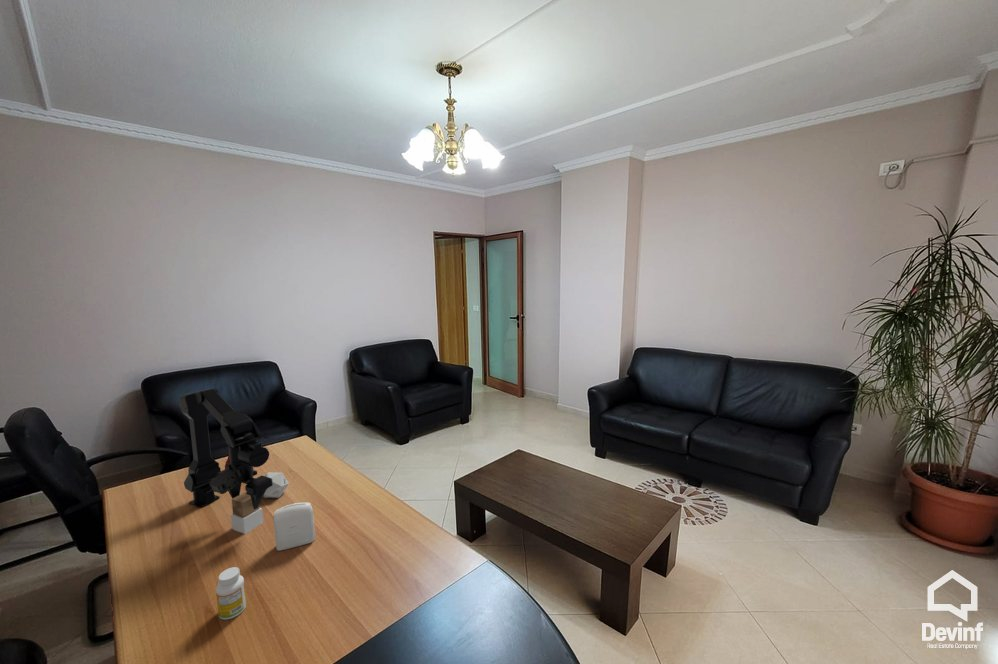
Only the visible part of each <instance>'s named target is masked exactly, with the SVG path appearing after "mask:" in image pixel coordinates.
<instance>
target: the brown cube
mask: <svg viewBox="0 0 998 664" xmlns="http://www.w3.org/2000/svg"><path fill="white" fill-rule="evenodd" d="M246 493H247V491H246V490H245V491H244V492H242V493H240V495H239V496H237V497H235V498H233V499H232V498H231V506H232V514H234V515H237V516H239V517H242V518H245V517H246V516H248V515H250V514H252V513H253V512H255V511H257V510H259V507H260V505H259V506H258V508H257V509H254V508H253V505H252V500H251V496H250V495H248V494H246Z"/></svg>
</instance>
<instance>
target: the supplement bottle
mask: <svg viewBox="0 0 998 664" xmlns="http://www.w3.org/2000/svg"><path fill="white" fill-rule="evenodd" d="M245 587H246V585H245V579H244V577H243V575H241V572H240V568H239V567H236V566H233V567H229V568H226V569H225V570H223V571H222V572H221V573H220V574H219V575H218V584H217V586H216V587H215V593H216V604H217V612H218V617H219V619H220V620H230V619H234V618H236V617H237V616H239V615H241V614H242V613H243V612H244V610H245V609H246V607H247V594H246V588H245Z"/></svg>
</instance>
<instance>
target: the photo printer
mask: <svg viewBox="0 0 998 664" xmlns="http://www.w3.org/2000/svg"><path fill="white" fill-rule="evenodd" d="M313 509H314V508H313V507H312V504H311V502H296V503H294V502H293V503H290V504H287V505H284V506H282V507H279V508H278V509H276V510H274V514H273V529H274V539H275V541H274V542H275V549H276V550H277V551H280V552H281V551H284V550H288V549H292V548H297V547H300V546H304V545H307V544H310V543H313V542H314V541H315V540H316V530H315V520H314V510H313Z"/></svg>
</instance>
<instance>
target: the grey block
mask: <svg viewBox="0 0 998 664" xmlns="http://www.w3.org/2000/svg"><path fill="white" fill-rule="evenodd" d="M230 520H231V529H232V530H234V531H235V532H239V533H241V534H244V535H246V534H248V533H249V532H251V531H253V530H254V529H256V528H257V527H259V526H260V525H263V524H264V521H265V520H264V511H263V508H262V507H260V506H259V510H257V511H255V512H253V513H252V514H250V515H248V516H246V517H245V518H242V517H239V516H237V515H234V514H233V513H231V514H230Z"/></svg>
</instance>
